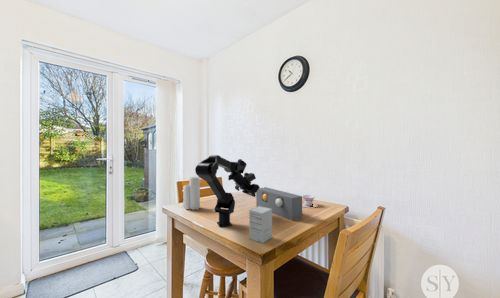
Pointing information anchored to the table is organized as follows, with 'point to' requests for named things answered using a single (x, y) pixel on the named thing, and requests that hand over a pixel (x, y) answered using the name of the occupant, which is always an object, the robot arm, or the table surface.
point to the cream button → (279, 202)
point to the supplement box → (260, 224)
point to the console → (290, 203)
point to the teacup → (308, 201)
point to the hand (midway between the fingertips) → (254, 196)
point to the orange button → (265, 197)
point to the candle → (192, 194)
